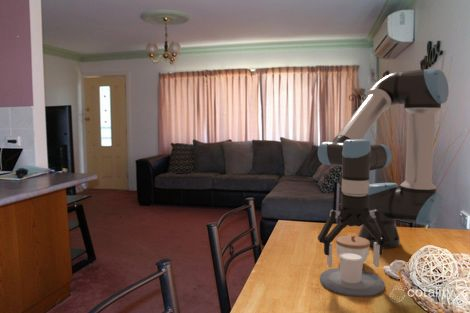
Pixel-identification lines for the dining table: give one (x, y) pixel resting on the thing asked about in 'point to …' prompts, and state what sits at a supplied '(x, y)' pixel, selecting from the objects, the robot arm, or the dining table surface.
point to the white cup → (351, 267)
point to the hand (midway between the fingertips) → (352, 265)
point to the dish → (352, 284)
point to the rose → (394, 268)
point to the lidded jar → (353, 245)
